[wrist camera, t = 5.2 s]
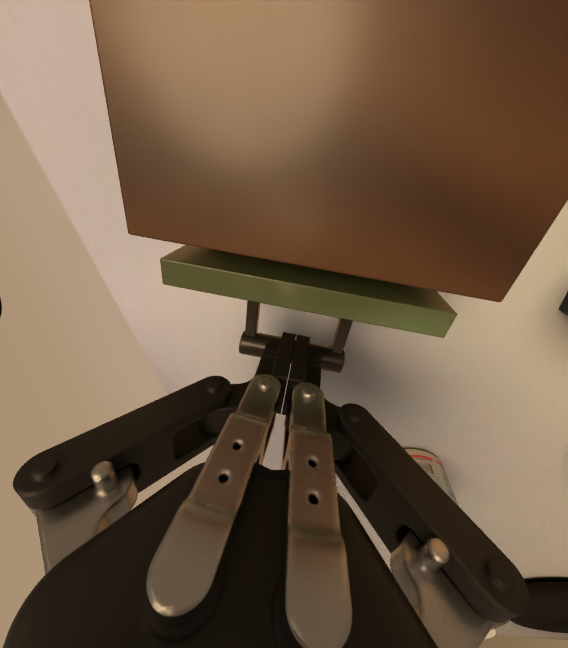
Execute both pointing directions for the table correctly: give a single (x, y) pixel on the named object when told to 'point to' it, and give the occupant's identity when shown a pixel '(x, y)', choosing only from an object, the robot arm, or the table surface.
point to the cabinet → (343, 131)
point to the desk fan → (546, 607)
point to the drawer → (306, 297)
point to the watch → (564, 305)
